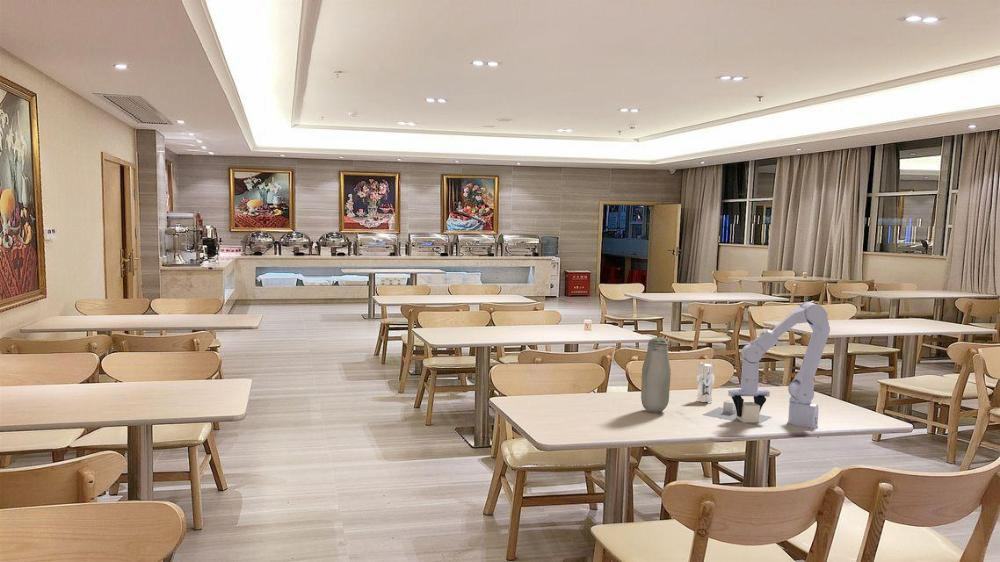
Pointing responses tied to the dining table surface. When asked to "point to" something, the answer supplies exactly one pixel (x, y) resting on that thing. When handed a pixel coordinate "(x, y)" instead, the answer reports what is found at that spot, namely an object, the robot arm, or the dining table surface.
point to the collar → (749, 412)
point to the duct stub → (729, 407)
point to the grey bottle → (656, 376)
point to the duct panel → (733, 416)
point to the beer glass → (705, 381)
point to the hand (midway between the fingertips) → (747, 416)
